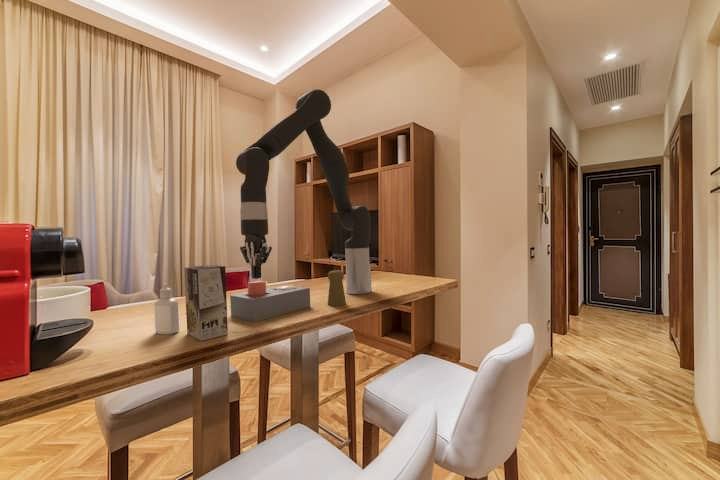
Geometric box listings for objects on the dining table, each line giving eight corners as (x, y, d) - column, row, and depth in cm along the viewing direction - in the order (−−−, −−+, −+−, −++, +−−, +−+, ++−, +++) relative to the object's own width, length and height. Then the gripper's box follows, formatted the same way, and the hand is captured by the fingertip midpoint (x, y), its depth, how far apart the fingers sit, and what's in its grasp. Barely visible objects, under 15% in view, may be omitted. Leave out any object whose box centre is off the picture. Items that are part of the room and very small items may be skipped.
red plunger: (260, 300, 92) (259, 280, 92) (270, 302, 89) (269, 281, 89) (245, 303, 88) (244, 282, 88) (254, 305, 85) (254, 284, 85)
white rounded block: (286, 303, 100) (286, 285, 100) (297, 305, 97) (296, 286, 97) (274, 306, 96) (273, 287, 96) (284, 308, 93) (283, 289, 93)
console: (286, 302, 104) (285, 284, 104) (310, 306, 97) (309, 287, 97) (231, 315, 89) (230, 295, 89) (254, 322, 81) (253, 299, 81)
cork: (347, 301, 102) (346, 269, 102) (344, 306, 96) (343, 271, 96) (329, 302, 103) (328, 269, 103) (325, 306, 97) (324, 271, 97)
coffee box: (229, 334, 72) (226, 266, 71) (200, 342, 67) (197, 268, 67) (213, 327, 78) (211, 264, 78) (186, 333, 73) (183, 266, 73)
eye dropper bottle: (159, 337, 71) (157, 286, 71) (154, 332, 75) (152, 283, 75) (180, 332, 74) (178, 283, 74) (174, 328, 78) (172, 281, 78)
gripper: (279, 217, 87) (281, 278, 88) (252, 220, 95) (254, 275, 96) (256, 217, 81) (258, 281, 82) (230, 219, 90) (232, 278, 90)
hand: (256, 278), depth 89 cm, fingers closed
